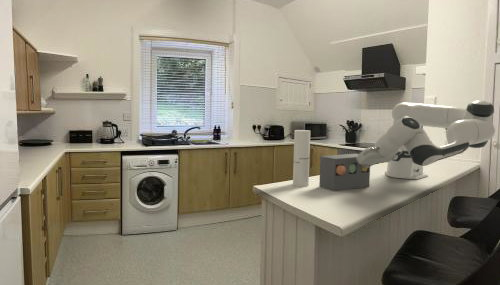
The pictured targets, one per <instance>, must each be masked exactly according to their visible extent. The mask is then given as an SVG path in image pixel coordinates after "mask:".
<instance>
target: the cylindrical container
mask: <svg viewBox="0 0 500 285" xmlns="http://www.w3.org/2000/svg"><path fill="white" fill-rule="evenodd" d="M293 134H294V135H293V136H294V137H293V140H294V141H293V165H292V166H293V167H292V168H293V171H292V185H293V186H294V187H300V188H301V187H302V188H303V187H305V188H307V187H309V183H310V153H311V152H310V151H311V130H307V129H306V130H305V129H295V130H294V132H293Z"/></svg>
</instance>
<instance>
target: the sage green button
mask: <svg viewBox="0 0 500 285" xmlns="http://www.w3.org/2000/svg"><path fill="white" fill-rule="evenodd" d="M355 170H356V166H355V164H350V165H349V172H350V173H354V172H355Z"/></svg>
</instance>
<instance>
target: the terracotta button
mask: <svg viewBox="0 0 500 285" xmlns="http://www.w3.org/2000/svg"><path fill="white" fill-rule="evenodd" d="M345 172H346V168H345V167H344V166H341V165H336V174H339V175H344V174H345Z"/></svg>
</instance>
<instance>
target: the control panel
mask: <svg viewBox="0 0 500 285" xmlns="http://www.w3.org/2000/svg"><path fill="white" fill-rule="evenodd" d="M359 154H360V153H347V154H344V153H343V154H331V155H320V157H319V158H320V162H319V163H320V164H319V186H318V188H322V189H324V190H328V191H332V192H339V191H346V190H352V189H360V188H366V187H367V188H368V187H370V178H371V177H370V176H371V167H370V168H368V169H367V171H365V172H364V171H362V165H360V164H359V163H358V162H357V160H356V157H357V156H358V155H359ZM350 164H355V166H356V170H355V172H354V173H350V172H349V165H350ZM336 165H341V166H344V167H345V168H346V172H345V174H344V175H339V174H336Z"/></svg>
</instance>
